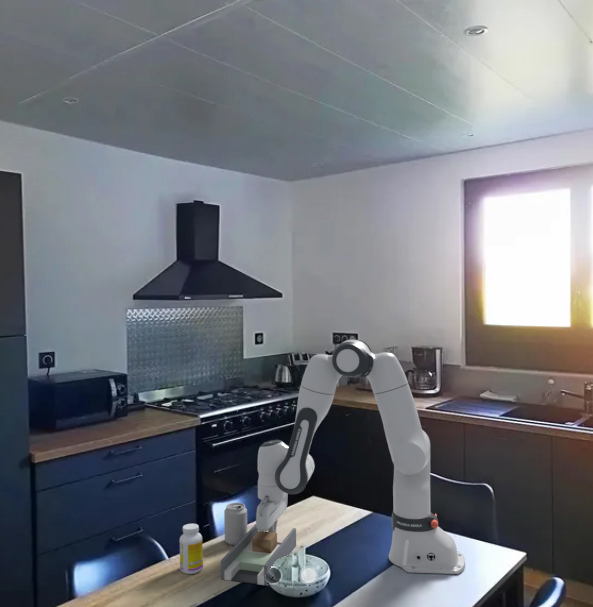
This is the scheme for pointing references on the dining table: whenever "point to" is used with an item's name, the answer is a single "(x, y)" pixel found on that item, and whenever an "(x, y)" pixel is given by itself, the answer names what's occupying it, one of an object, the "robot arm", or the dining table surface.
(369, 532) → the dining table surface
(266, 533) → the walnut block
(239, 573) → the box
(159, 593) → the dining table surface
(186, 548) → the supplement bottle
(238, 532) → the can
